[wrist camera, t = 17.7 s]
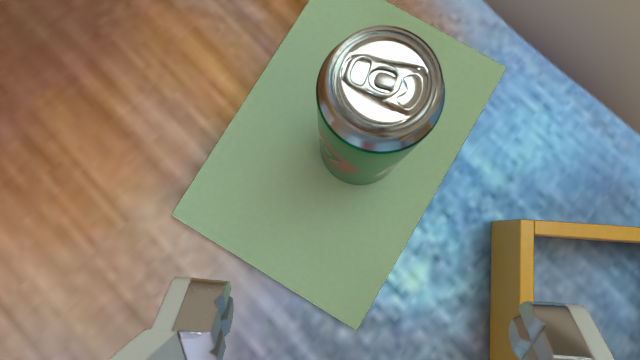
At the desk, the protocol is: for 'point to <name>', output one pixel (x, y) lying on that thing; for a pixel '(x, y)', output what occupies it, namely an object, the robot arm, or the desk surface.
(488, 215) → the desk surface
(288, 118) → the green mat
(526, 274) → the frame
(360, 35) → the soda can
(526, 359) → the robot arm
